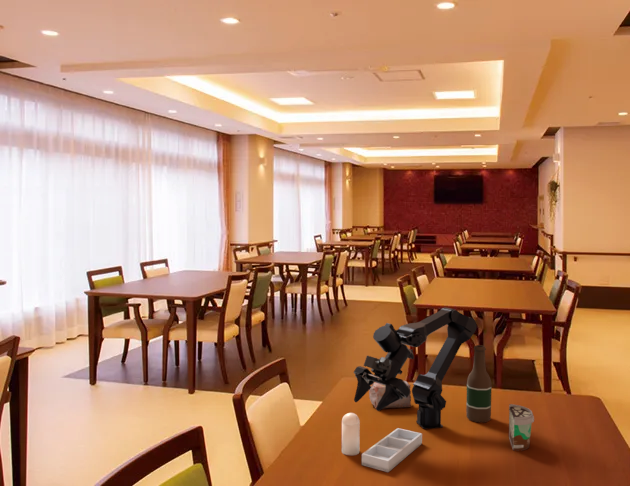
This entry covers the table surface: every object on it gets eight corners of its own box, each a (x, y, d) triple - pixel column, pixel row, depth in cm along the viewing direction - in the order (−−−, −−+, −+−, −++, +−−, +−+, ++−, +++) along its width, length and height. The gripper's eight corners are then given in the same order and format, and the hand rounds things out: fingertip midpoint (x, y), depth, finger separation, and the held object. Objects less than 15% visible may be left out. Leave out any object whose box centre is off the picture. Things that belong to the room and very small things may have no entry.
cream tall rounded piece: (356, 447, 166) (356, 409, 166) (361, 454, 161) (361, 415, 161) (339, 448, 165) (339, 410, 164) (344, 456, 160) (344, 417, 160)
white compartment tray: (397, 437, 173) (397, 427, 173) (422, 443, 169) (422, 433, 169) (361, 465, 155) (361, 454, 155) (388, 472, 150) (388, 461, 150)
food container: (537, 454, 162) (538, 419, 161) (513, 452, 163) (514, 417, 162) (529, 437, 174) (530, 404, 173) (508, 435, 175) (509, 403, 174)
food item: (374, 411, 196) (374, 382, 196) (367, 403, 204) (368, 375, 204) (412, 408, 199) (413, 380, 198) (405, 401, 207) (405, 373, 206)
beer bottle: (464, 421, 187) (465, 347, 186) (467, 413, 194) (469, 342, 193) (489, 424, 184) (491, 349, 183) (491, 416, 192) (493, 344, 190)
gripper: (358, 339, 176) (329, 381, 170) (403, 351, 161) (374, 398, 155) (377, 361, 181) (349, 403, 175) (422, 374, 166) (394, 421, 160)
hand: (365, 405), depth 166 cm, fingers open, 9 cm apart
